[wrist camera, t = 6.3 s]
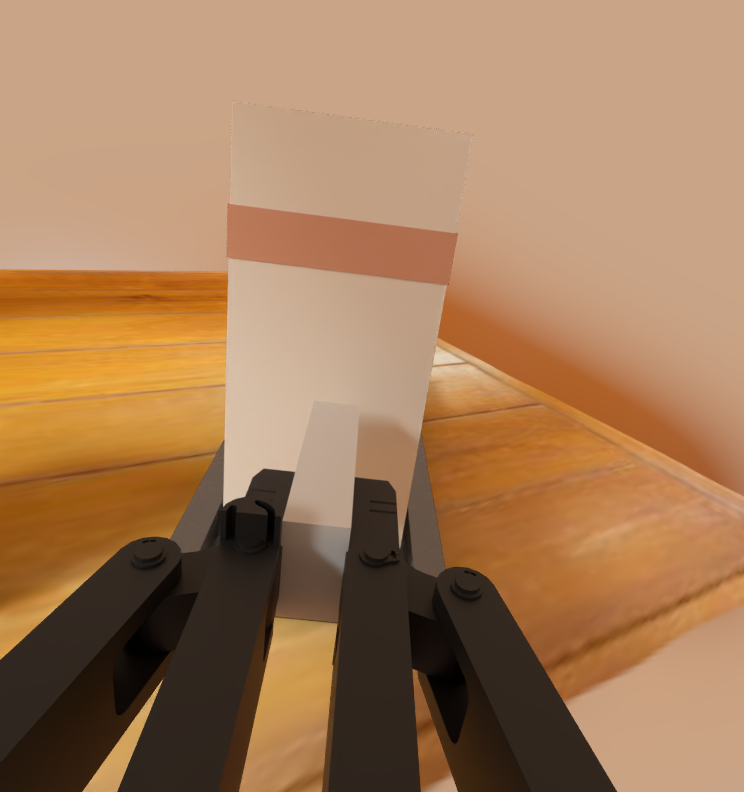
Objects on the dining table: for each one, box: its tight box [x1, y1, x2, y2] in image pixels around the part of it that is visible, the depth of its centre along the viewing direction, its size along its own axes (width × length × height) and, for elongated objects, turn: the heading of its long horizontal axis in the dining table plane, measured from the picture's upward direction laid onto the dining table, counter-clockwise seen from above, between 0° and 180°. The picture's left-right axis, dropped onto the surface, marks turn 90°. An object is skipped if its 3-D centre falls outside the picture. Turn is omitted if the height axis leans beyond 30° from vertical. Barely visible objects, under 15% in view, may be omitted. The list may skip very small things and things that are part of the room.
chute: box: [170, 433, 445, 623], centre depth 31 cm, size 24×10×2 cm, turn 0°
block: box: [223, 101, 473, 548], centre depth 22 cm, size 6×7×16 cm
